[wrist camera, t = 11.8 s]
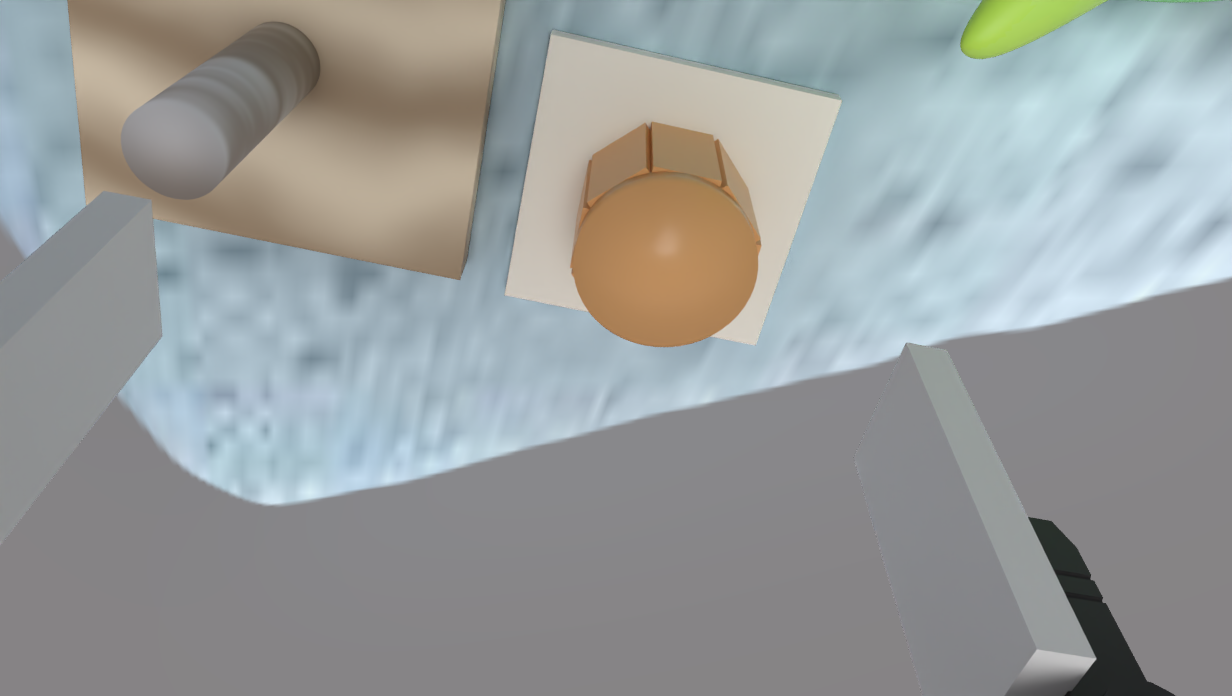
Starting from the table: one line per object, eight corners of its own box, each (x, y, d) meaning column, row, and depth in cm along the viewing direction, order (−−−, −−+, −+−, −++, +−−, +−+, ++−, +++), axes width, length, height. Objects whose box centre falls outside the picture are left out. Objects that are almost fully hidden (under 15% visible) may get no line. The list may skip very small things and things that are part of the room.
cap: (599, 109, 38) (593, 163, 33) (764, 146, 39) (782, 204, 34) (567, 259, 42) (557, 327, 37) (718, 290, 43) (729, 362, 38)
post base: (76, -228, 33) (-173, -222, 23) (523, -119, 35) (475, -69, 24) (108, 186, 41) (-64, 325, 31) (467, 259, 43) (413, 414, 33)
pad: (552, 29, 37) (551, 34, 37) (838, 94, 39) (842, 100, 38) (506, 286, 44) (504, 295, 43) (753, 336, 45) (755, 345, 44)
